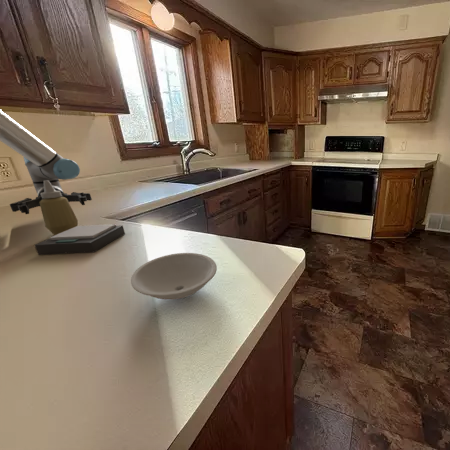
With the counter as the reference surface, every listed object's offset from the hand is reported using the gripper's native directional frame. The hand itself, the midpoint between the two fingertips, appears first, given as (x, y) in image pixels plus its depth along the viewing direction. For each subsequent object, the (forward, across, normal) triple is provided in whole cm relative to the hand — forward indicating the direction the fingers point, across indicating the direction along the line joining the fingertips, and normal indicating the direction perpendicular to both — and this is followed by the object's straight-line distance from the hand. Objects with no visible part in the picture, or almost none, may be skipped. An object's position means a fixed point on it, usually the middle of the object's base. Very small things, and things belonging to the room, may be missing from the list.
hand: (55, 205), depth 80 cm
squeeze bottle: (0, 0, -10) cm, 10 cm away
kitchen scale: (+17, -3, -10) cm, 20 cm away
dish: (+65, -12, -10) cm, 67 cm away
